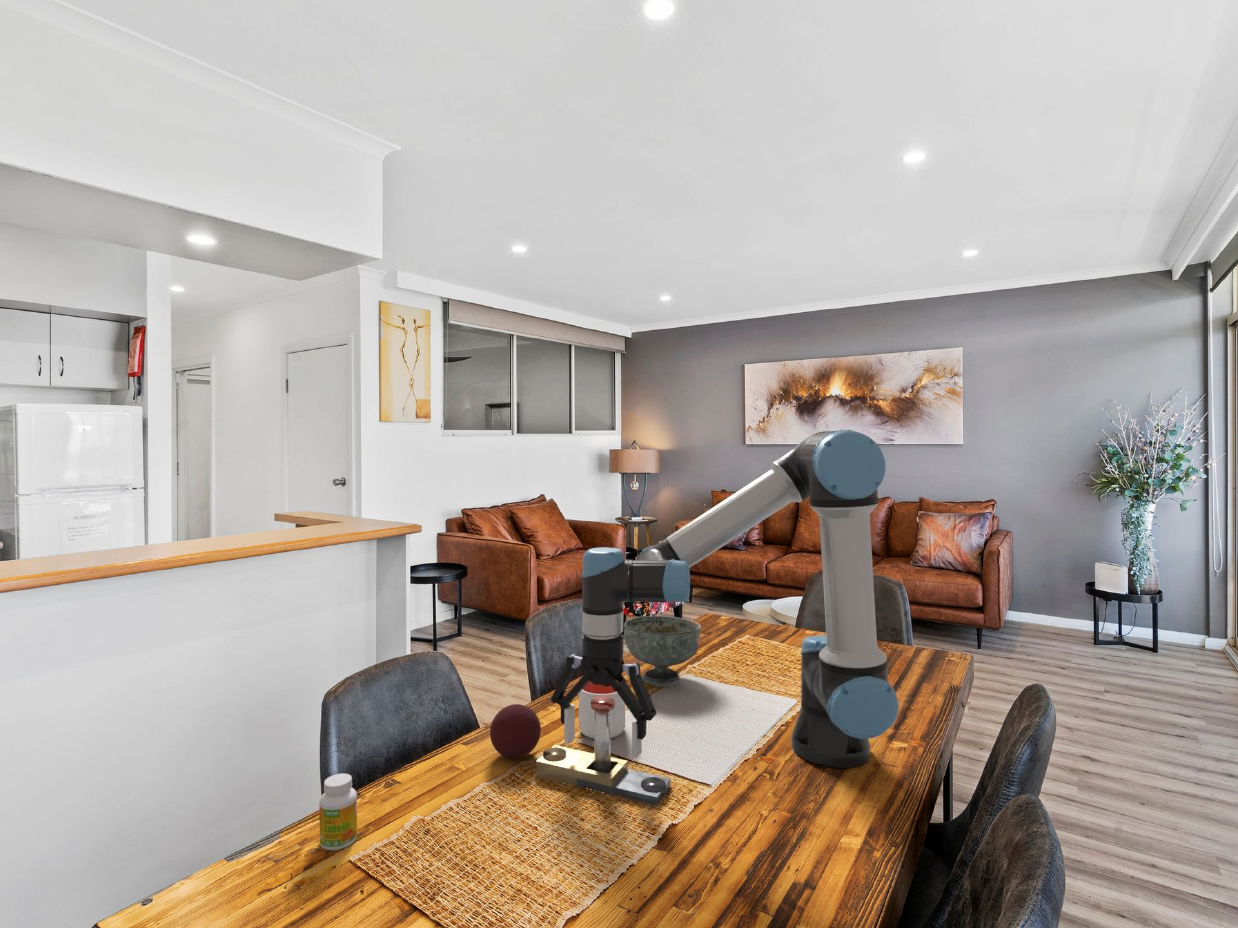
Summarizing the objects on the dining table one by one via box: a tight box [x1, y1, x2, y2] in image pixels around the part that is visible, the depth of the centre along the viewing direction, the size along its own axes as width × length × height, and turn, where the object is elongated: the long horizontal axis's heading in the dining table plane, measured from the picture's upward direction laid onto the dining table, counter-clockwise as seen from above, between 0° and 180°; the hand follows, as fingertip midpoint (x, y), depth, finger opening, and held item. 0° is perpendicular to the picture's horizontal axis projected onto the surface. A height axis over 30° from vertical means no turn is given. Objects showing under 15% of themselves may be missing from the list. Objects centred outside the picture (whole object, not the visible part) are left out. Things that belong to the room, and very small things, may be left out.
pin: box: [591, 696, 615, 774], centre depth 121 cm, size 4×4×15 cm
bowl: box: [623, 615, 702, 687], centre depth 173 cm, size 20×19×15 cm
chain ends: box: [535, 744, 671, 807], centre depth 121 cm, size 24×7×3 cm, turn 66°
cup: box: [578, 680, 626, 740], centre depth 142 cm, size 10×10×10 cm
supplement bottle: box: [318, 773, 358, 851], centre depth 103 cm, size 5×5×10 cm
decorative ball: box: [489, 703, 542, 759], centre depth 131 cm, size 10×10×10 cm
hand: (602, 748), depth 121 cm, fingers open, 13 cm apart
